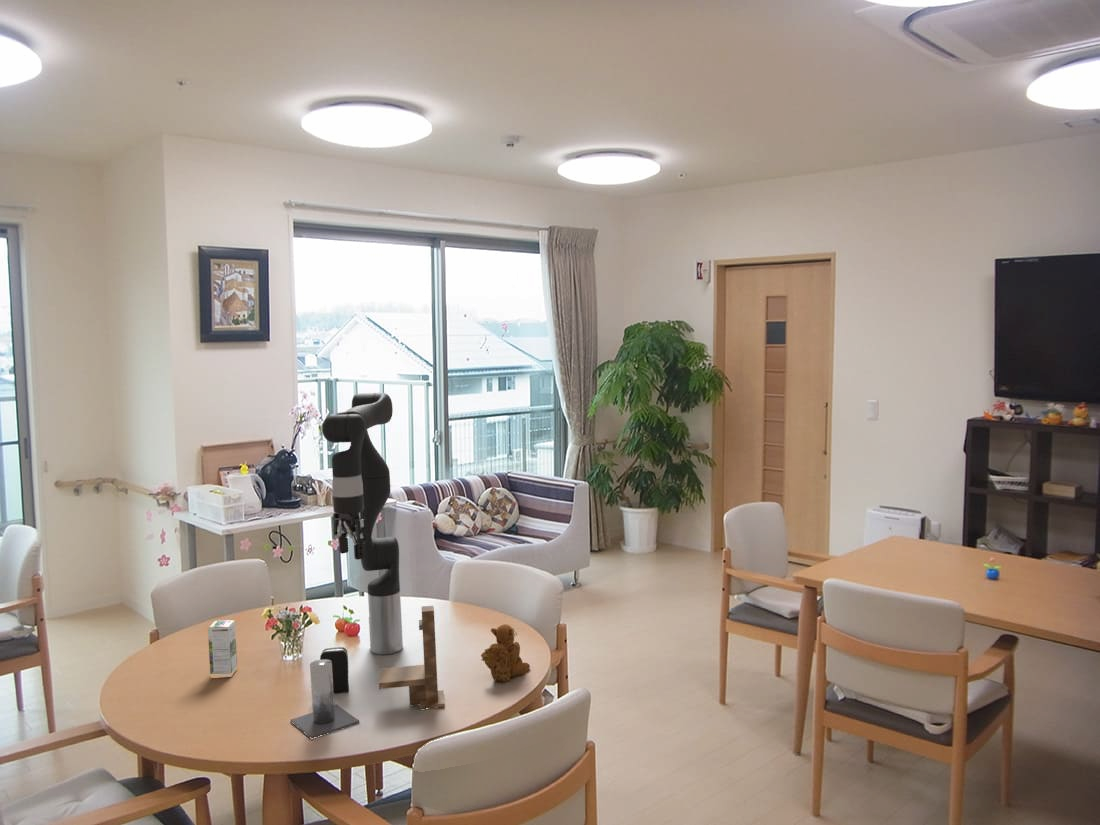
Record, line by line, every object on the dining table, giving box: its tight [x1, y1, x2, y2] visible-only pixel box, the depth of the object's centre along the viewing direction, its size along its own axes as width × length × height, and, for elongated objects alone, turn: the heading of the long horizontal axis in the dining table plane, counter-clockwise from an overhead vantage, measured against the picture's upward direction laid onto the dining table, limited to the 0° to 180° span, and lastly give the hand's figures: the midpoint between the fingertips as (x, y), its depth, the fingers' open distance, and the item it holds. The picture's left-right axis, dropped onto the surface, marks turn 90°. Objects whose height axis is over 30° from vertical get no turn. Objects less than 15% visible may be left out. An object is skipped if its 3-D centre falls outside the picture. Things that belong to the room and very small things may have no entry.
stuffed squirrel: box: [480, 624, 531, 683], centre depth 226 cm, size 10×14×13 cm
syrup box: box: [207, 619, 238, 674], centre depth 233 cm, size 6×6×14 cm
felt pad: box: [290, 704, 360, 738], centre depth 202 cm, size 12×12×1 cm
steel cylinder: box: [309, 659, 335, 725], centre depth 202 cm, size 5×5×14 cm
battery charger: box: [319, 646, 350, 694], centre depth 219 cm, size 7×4×11 cm, turn 99°
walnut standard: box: [378, 605, 446, 711], centre depth 210 cm, size 16×9×24 cm, turn 99°
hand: (351, 555), depth 215 cm, fingers open, 8 cm apart
